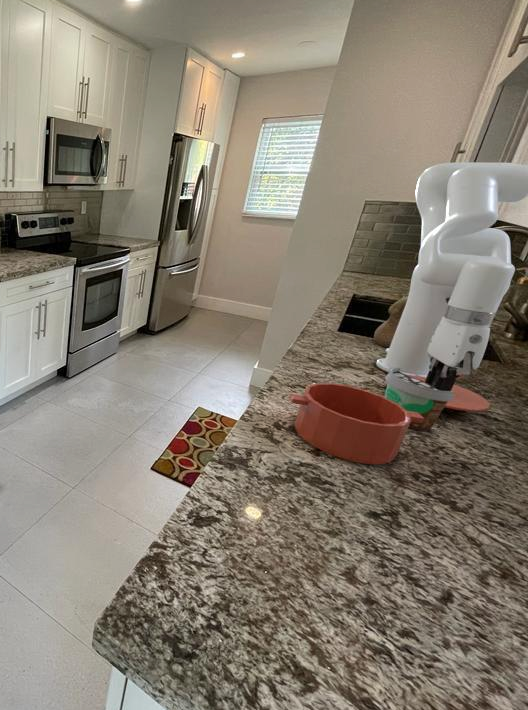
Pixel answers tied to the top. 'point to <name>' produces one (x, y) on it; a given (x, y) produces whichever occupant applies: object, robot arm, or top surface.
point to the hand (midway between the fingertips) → (436, 388)
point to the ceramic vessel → (392, 323)
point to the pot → (352, 422)
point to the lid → (461, 397)
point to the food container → (416, 397)
